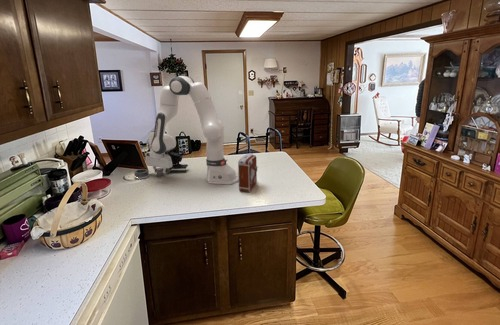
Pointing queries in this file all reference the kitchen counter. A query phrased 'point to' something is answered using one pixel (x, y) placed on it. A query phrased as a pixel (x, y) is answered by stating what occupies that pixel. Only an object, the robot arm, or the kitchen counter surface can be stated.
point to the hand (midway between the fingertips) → (160, 172)
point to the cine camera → (247, 172)
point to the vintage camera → (175, 161)
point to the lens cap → (159, 172)
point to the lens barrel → (142, 173)
